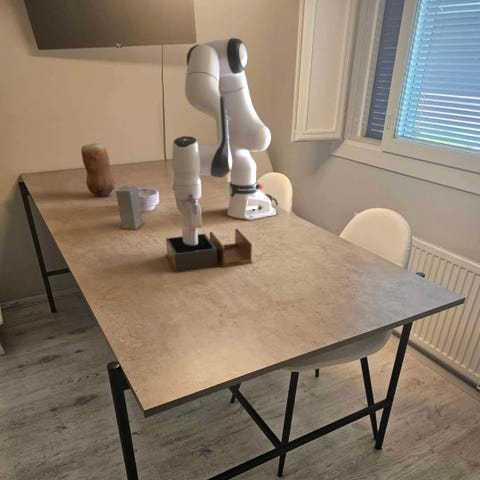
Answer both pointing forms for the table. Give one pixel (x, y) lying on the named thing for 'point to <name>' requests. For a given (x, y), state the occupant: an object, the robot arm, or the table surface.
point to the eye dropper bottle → (187, 237)
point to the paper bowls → (148, 199)
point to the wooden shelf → (240, 244)
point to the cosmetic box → (129, 207)
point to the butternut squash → (97, 170)
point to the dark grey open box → (191, 253)
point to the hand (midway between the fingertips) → (189, 231)
